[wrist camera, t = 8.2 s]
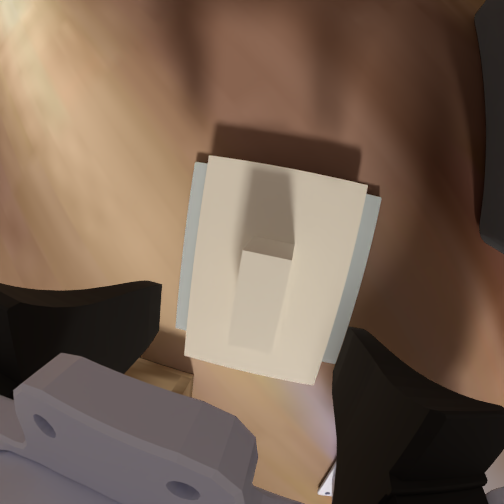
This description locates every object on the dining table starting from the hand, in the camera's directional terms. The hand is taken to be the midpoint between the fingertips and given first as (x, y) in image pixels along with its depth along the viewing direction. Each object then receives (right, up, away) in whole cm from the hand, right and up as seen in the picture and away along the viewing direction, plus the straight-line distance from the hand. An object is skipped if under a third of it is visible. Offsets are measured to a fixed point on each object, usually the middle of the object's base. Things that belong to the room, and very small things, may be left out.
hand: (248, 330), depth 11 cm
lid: (+1, +1, +7) cm, 7 cm away
